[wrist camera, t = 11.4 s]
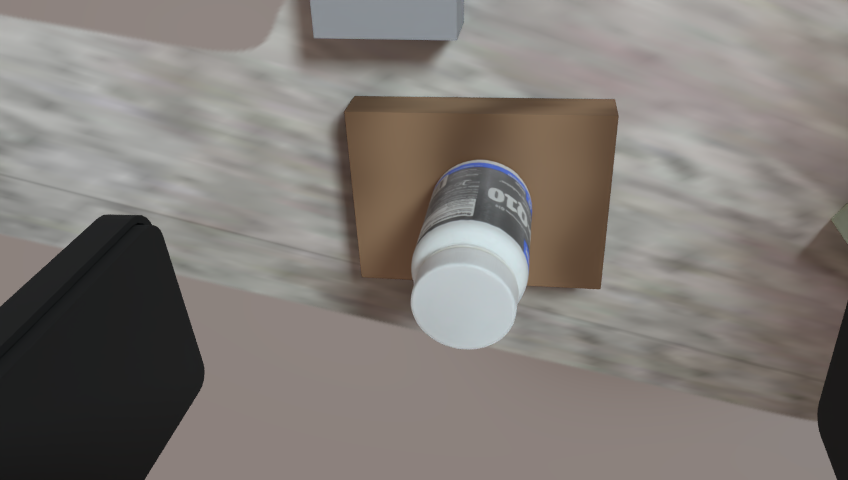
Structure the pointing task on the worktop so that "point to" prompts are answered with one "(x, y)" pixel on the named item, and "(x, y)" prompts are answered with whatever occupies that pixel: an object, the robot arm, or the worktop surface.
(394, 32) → the grey brick
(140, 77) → the worktop surface
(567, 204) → the walnut block
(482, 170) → the pill bottle
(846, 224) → the sage brick
